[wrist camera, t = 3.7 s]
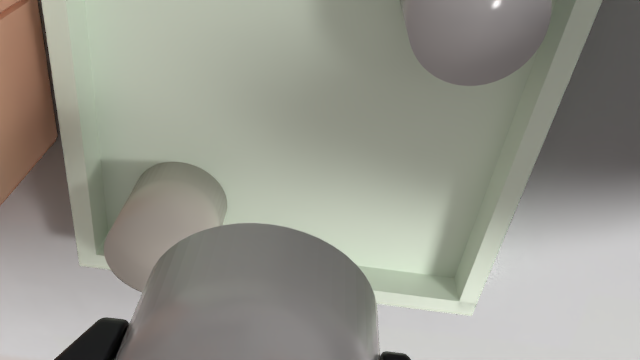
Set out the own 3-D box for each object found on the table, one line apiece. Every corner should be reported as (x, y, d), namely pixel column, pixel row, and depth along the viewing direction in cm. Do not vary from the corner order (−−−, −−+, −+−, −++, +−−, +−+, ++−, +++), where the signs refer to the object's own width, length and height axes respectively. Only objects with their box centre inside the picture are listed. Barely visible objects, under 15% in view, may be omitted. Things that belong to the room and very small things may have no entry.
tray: (613, -107, 13) (642, -96, 12) (463, 282, 21) (471, 315, 19) (47, -197, 13) (13, -196, 12) (97, 234, 20) (79, 265, 19)
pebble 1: (229, 168, 18) (210, 225, 15) (225, 241, 19) (208, 302, 17) (132, 155, 18) (99, 210, 15) (137, 230, 19) (107, 289, 17)
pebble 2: (538, -68, 13) (574, -42, 11) (499, 51, 15) (523, 94, 13) (413, -88, 13) (426, -64, 11) (388, 35, 15) (394, 75, 13)
